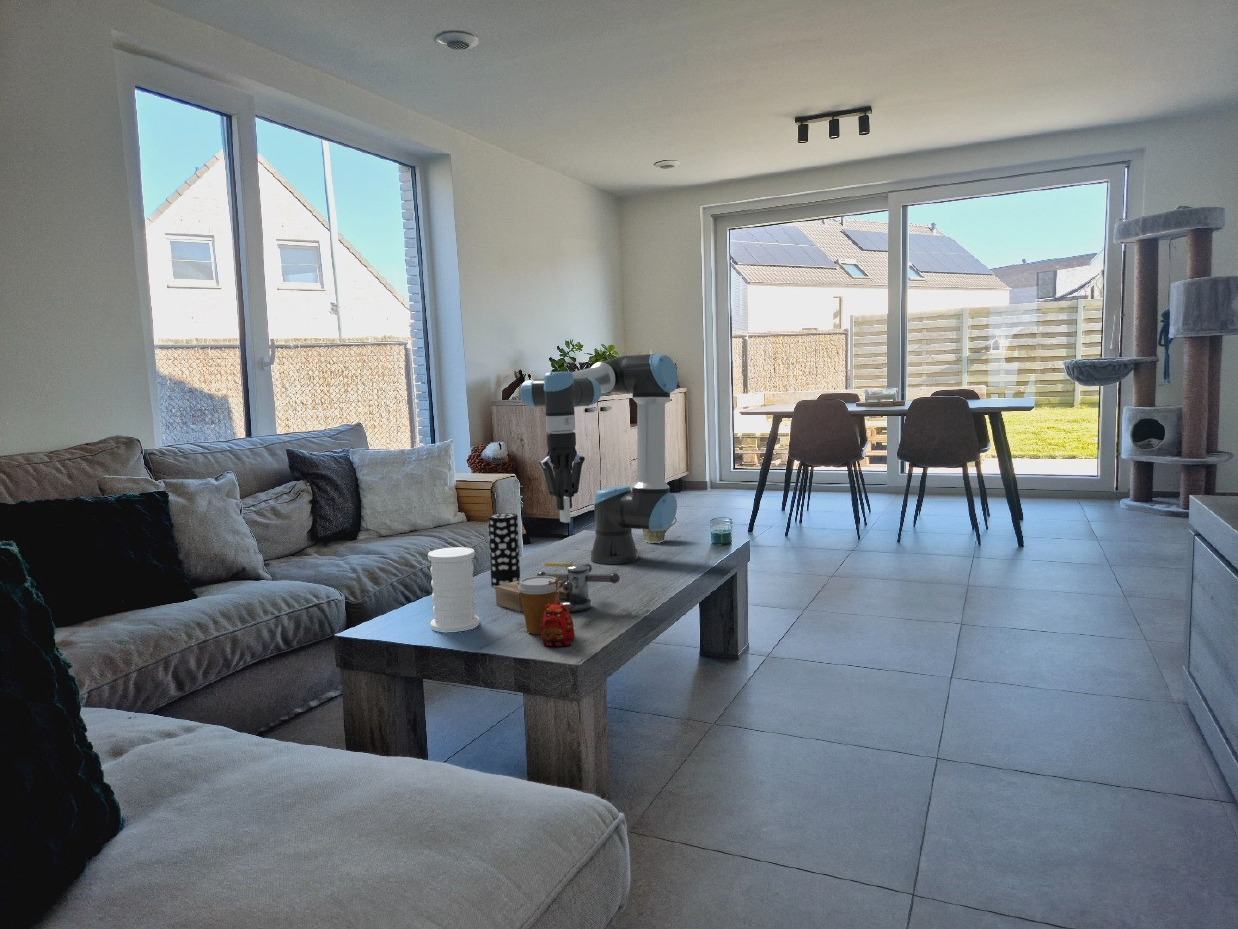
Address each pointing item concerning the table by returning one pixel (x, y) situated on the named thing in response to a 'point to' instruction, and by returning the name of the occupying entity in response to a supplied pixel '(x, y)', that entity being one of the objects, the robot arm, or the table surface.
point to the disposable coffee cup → (536, 599)
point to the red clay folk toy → (556, 623)
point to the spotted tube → (504, 548)
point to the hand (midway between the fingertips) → (565, 521)
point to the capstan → (578, 584)
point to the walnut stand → (518, 595)
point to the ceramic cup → (655, 534)
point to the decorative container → (453, 589)
